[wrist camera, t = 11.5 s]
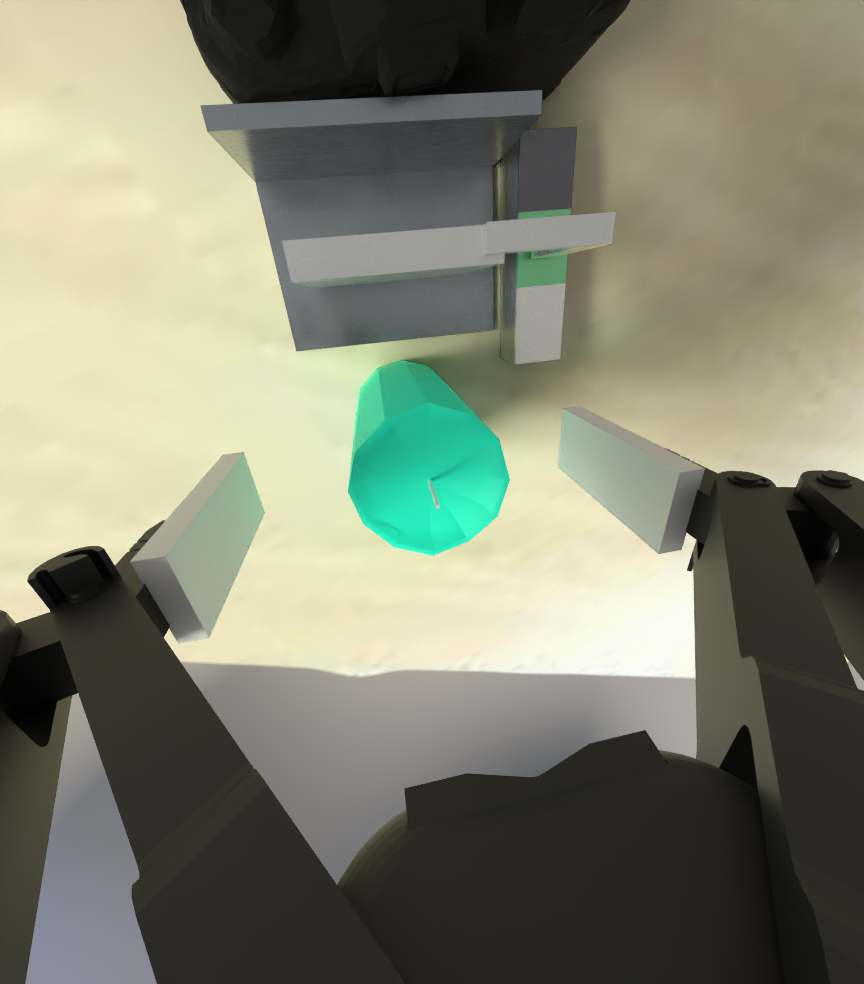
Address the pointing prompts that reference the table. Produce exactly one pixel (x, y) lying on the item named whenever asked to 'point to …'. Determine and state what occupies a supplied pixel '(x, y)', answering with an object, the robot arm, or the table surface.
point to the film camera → (392, 45)
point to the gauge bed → (409, 207)
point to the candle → (423, 462)
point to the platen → (440, 249)
